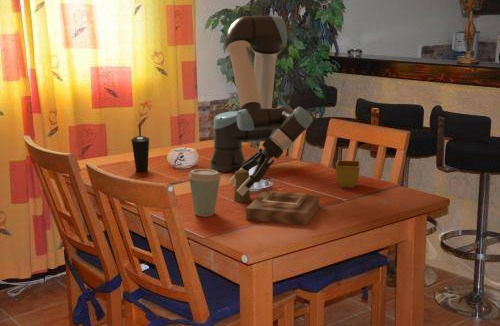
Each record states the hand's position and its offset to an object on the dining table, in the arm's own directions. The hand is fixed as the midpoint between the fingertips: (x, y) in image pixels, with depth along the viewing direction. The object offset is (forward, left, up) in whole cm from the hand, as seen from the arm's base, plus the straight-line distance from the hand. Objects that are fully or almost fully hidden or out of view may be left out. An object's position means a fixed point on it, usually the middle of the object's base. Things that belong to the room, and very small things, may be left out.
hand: (235, 188), depth 239 cm
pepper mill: (+2, +1, -5) cm, 5 cm away
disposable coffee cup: (-5, -17, -5) cm, 18 cm away
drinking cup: (-51, +28, -5) cm, 58 cm away
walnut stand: (+20, -9, -5) cm, 22 cm away
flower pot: (+35, +29, -5) cm, 46 cm away
